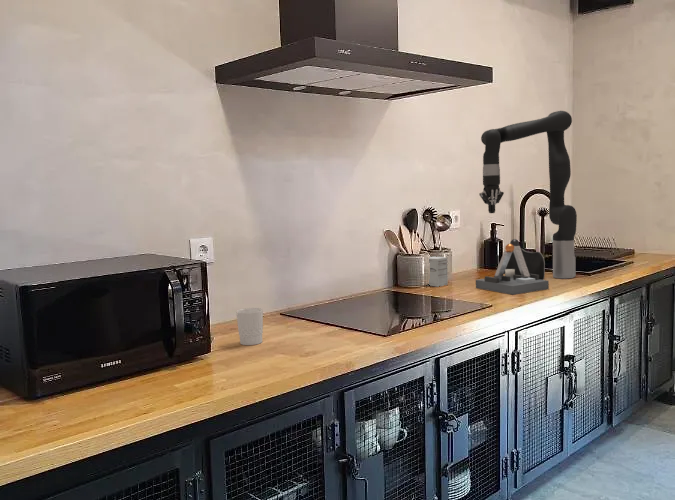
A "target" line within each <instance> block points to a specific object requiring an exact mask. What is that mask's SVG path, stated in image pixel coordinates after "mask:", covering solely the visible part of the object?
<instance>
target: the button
mask: <svg viewBox="0 0 675 500" xmlns="http://www.w3.org/2000/svg"><path fill="white" fill-rule="evenodd" d="M513 275H515V269H505V274H504V276H510V278H513Z"/></svg>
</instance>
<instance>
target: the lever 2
mask: <svg viewBox="0 0 675 500" xmlns="http://www.w3.org/2000/svg"><path fill="white" fill-rule="evenodd" d="M509 244H513V245H514V251H513V252H514V255H515V258H516V261H517V264H518V267H519V270H520V273H521V276H528V277H529V278H531V276H530V275H529V272H528V269H527V266H526V263H525V260H524V257H523V254H522V251H521V249H522V248H521V246H520V241H519V240H518V239H517V238H513V239H511V240H510V243H509Z"/></svg>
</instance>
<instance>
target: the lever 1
mask: <svg viewBox="0 0 675 500" xmlns="http://www.w3.org/2000/svg"><path fill="white" fill-rule="evenodd" d="M504 249H505V250H504V251H503V254H502V256H501V258H500V261H499V263H498V266H497V267H496V270H495V273H494V276H493V277H495V278H499V280H502V277H503V275H505V274H504V272H505V269H506V267H507V264H508V262H509V259H510V257H511V255H512V252H513V251H514V245H513V244H510V243H507V244H506V245H505V247H504Z"/></svg>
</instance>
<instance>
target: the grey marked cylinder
mask: <svg viewBox="0 0 675 500" xmlns="http://www.w3.org/2000/svg"><path fill="white" fill-rule="evenodd" d="M429 257H430V258H429V263H430V279H429V285H430V287H436V288H439V286H440V287H444V285H445V286H448V285H449V284H448V277H449V276H448V257H446V256H437V257H436V256H429ZM429 285H428V286H429Z"/></svg>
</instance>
